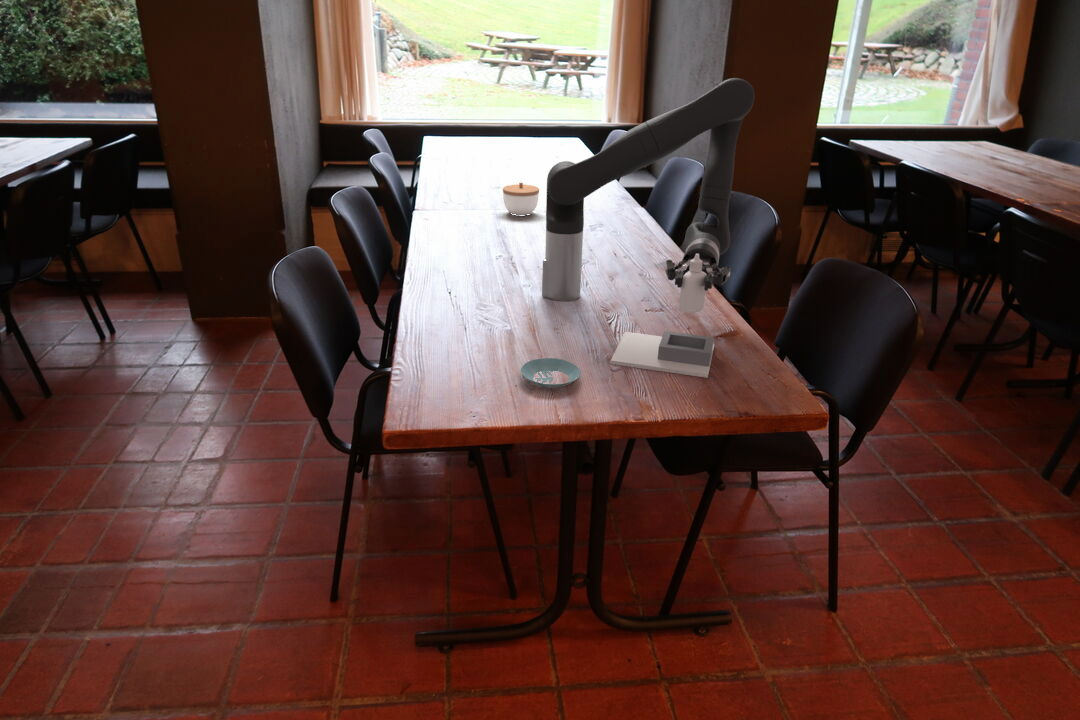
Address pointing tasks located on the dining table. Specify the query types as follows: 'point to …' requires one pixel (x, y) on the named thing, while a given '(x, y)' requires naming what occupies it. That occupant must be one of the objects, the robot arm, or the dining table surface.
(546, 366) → the saucer
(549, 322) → the dining table surface
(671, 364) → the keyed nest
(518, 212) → the lidded bowl
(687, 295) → the eye dropper bottle
